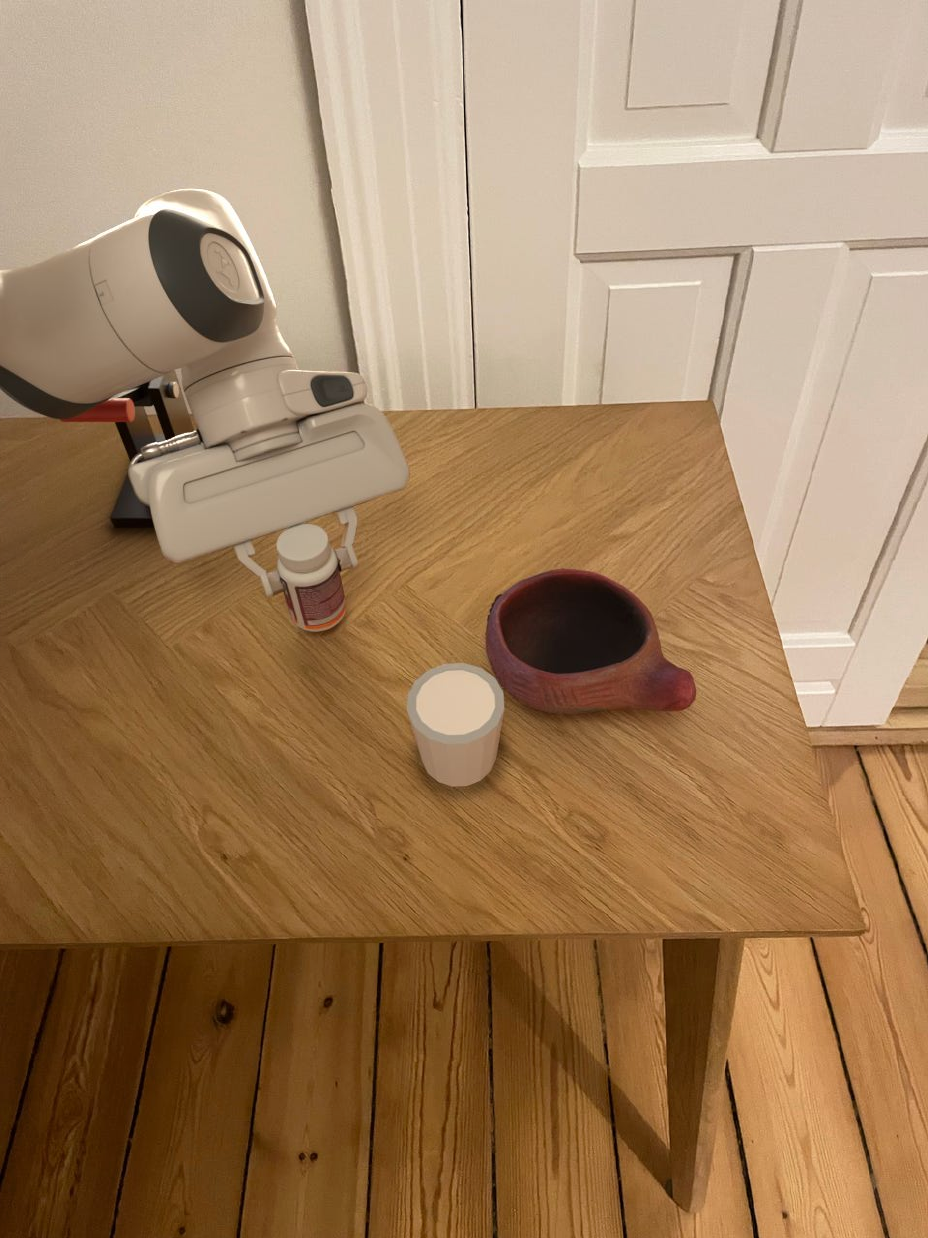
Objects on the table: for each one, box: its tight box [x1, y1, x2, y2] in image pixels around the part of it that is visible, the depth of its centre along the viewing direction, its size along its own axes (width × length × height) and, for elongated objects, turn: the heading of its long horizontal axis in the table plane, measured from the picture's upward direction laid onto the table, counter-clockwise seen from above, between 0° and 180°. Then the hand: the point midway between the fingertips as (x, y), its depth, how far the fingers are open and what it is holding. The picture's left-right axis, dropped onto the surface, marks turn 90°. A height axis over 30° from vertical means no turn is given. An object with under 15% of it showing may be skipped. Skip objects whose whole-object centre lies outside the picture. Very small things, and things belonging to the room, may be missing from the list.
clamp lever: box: [59, 381, 154, 423], centre depth 78 cm, size 12×6×2 cm, turn 178°
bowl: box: [485, 568, 697, 715], centre depth 72 cm, size 16×13×8 cm
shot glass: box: [406, 662, 505, 788], centre depth 68 cm, size 7×7×7 cm
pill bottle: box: [275, 523, 347, 633], centre depth 75 cm, size 5×5×8 cm
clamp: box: [109, 370, 205, 528], centre depth 86 cm, size 12×9×13 cm
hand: (313, 581), depth 75 cm, fingers closed on pill bottle, 5 cm apart
